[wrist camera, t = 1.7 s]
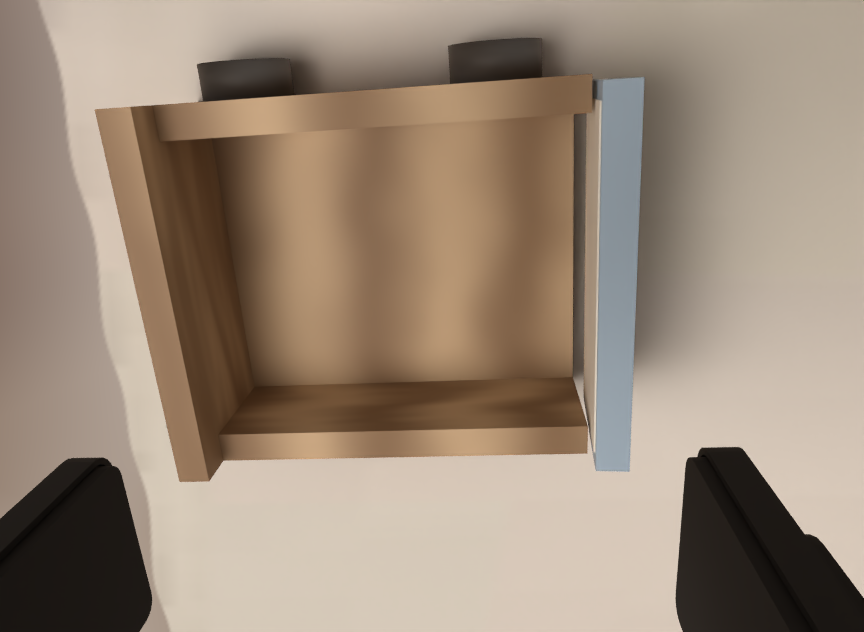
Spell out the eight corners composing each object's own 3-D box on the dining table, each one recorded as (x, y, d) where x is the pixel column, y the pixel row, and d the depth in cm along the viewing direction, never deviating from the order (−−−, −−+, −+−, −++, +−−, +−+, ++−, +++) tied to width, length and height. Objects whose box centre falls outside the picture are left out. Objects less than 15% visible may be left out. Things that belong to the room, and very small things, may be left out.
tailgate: (619, 77, 25) (644, 77, 19) (610, 397, 29) (629, 471, 24) (585, 80, 25) (601, 80, 20) (582, 397, 30) (594, 470, 24)
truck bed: (567, 39, 27) (601, 22, 19) (567, 407, 32) (593, 506, 25) (191, 68, 28) (84, 63, 21) (252, 415, 34) (186, 511, 26)
